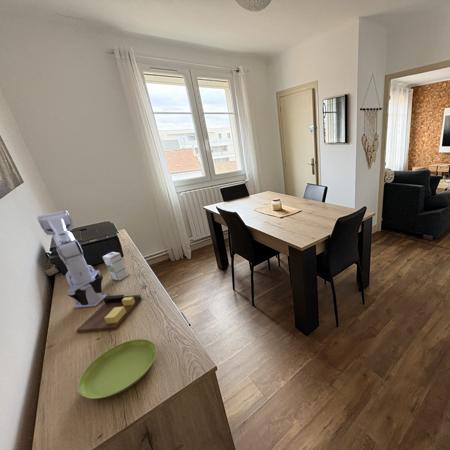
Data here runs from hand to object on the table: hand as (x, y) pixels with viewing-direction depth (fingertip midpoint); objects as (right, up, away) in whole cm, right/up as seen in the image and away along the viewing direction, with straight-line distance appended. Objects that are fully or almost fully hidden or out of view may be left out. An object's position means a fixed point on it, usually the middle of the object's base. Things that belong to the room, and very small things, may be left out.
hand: (92, 298), depth 100 cm
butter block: (+11, -8, 0) cm, 13 cm away
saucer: (+29, -17, -22) cm, 41 cm away
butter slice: (+10, -5, +8) cm, 14 cm away
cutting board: (+6, -8, +4) cm, 11 cm away
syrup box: (-12, +2, +32) cm, 34 cm away
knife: (+6, -4, +10) cm, 12 cm away
